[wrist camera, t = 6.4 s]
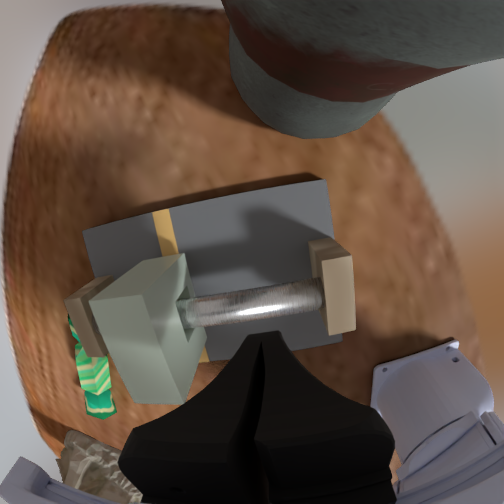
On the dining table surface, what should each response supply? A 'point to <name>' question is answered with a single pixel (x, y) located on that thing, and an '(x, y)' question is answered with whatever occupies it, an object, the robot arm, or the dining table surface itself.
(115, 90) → the dining table surface
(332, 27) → the bottle
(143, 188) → the dining table surface
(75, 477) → the jagged grey rock
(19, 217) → the dining table surface
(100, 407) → the candy
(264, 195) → the pipe rig
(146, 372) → the grey square nut
